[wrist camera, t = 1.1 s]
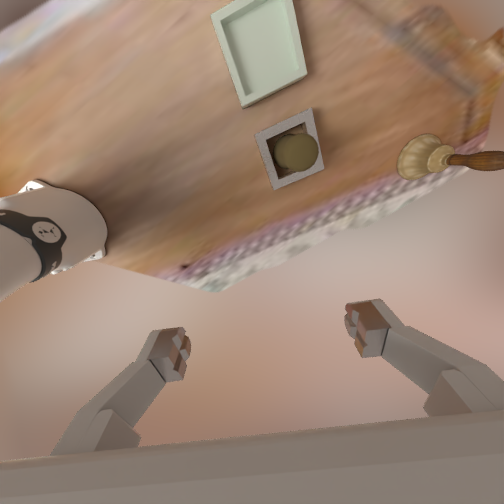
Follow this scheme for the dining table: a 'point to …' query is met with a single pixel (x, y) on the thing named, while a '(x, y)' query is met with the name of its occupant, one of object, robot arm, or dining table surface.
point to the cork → (296, 152)
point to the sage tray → (260, 46)
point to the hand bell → (441, 158)
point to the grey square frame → (261, 137)
